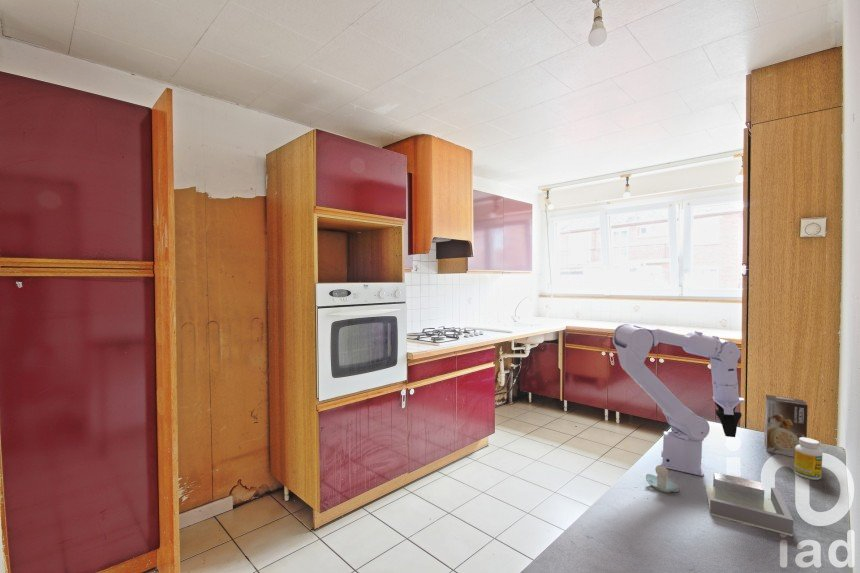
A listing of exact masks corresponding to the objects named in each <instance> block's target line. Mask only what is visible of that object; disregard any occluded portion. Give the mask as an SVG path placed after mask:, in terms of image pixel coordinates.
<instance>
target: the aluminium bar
mask: <svg viewBox="0 0 860 573" xmlns="http://www.w3.org/2000/svg"><path fill="white" fill-rule="evenodd" d="M712 484H713V485H712V486H713V495H714V498H715V499H719V500H723V501H727V502H732V503H736V504H740V505H744V506H748V507H752V508H756V509H760V510H763V509H764V498H765V488H764V486H763V484H762V482H761V481H757V480H752V479H747V478H742V477H738V476H734V475H729V474H725V473H719V472H715V471H714V472H713V482H712Z"/></svg>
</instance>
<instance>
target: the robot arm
mask: <svg viewBox="0 0 860 573" xmlns="http://www.w3.org/2000/svg"><path fill="white" fill-rule="evenodd" d="M612 343H613V346H614V347H615V349H616V354H617V358H618V361H619V365H620V367H621V369H622V370H623V371H625V373H626V374H627V375H628V376H629V377H630V378H631V379H632V380H633V381H634V382H635V383H636V384H637V385H638V387H640V388H641V389H642V390H643V391H644V392H645V393H646V394H647V395H648V396H649V398H651V400H652V401H654V403H655V404H656V405H657V406H659V408H660V409H661V410H662V411H661V412H662V414H664V416H665V418H666V422H667V423H668V425H669V426H670V431H665V430H664V431H663V437H662V438H663V440H662V442H663V443H662V450H661V458H662V466H664V467H665V468H666V469H668V470H674V471H678V472H682V473H687V474H692V475H695V476H701V477H704V475H705V473H704V467H703V463H702V456H703V454H702V452H703V442H704V441H705V439H706V438H707V437H708V435H709V433H710V428H711V427H710V424H709V422H708V420H706V419H705V418H703V417H701V416H698V415H697V414H696V413H695V412H693V411H692V410H691V409H690V408H688V407H687V406H685V404H684V403H682V401H681V400H679V399H678V398H677V397H676V396H675V395H674V393H673V392H672V391H671V390H669V388H668V387H667V386H666V385H665V384H664V383H663V382H662V381H661V380H660V379H659V378H658V377H657V376H656V374H654V373H653V372H652V371H651V369H650V368H649V367H648V366H646V364H645V361H646V359H647V357H648V355H649V353H650V351H651V349H652V347H656V346H658V344H659V343H662V344H667V345H673V346H678V347H681V348H682V349H683V351H684V352H685V353H687V354H691V355H695V356H700V357H705V358H709V359H710V361H709V362H710V370H711V383H712V384H711V385H712V394H713V396H712V400H713V402H714V404H715V406H716V407H717V408H718V409H714V411H715V415H716V416H717V418H718V419H719V421H720V424H721V427H722V430H723V434H724V436H725V437H728V438H735V437H736V434H737V428H738V423H739V422H740V419H741V418H742V416H743V415H742V412H741V411H740V412H738V411H736V408H737V406H738V405H739V404H741V403H742V404H743V403H745V398H744V397H740V393H739V383H738V372H737V367H738V366H739V365H738V360H739V359H740V357H741V355H742V351H741V350H740V349H739V346H738V345H737V344H736V343H735V342H733V341H731V340H727V339H722V338H720V337H719V336H716V335H712V336H709V335H705V334H704V333H703V332H701V331H694V332H688V333H686V334H685V335H683V334H679V333H675V332H671V331H668V330H663V329H660V328H656V327H653V326H651V327H650V326H647V325H646V326H644V325H635V324H634V325H633V326H632V325H631V324H627V323H623V324H620V325H618V326H616V328H615V329H614V332H613V336H612Z"/></svg>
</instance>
